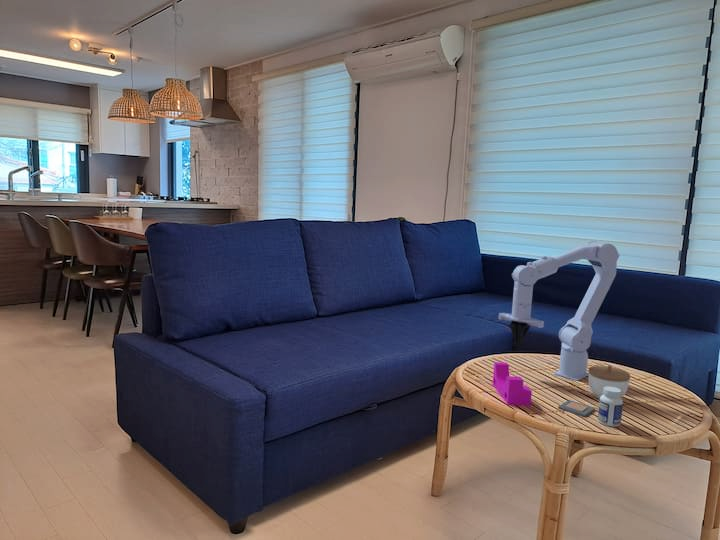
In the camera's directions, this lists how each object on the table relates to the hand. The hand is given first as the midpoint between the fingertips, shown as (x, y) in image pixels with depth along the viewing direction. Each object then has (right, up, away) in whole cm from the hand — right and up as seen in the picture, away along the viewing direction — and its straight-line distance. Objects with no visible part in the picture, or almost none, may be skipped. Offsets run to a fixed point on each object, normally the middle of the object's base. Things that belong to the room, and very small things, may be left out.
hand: (518, 345), depth 162 cm
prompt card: (+7, -13, -26) cm, 30 cm away
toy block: (-8, -12, -18) cm, 23 cm away
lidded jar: (+20, -13, -16) cm, 29 cm away
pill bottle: (+12, -15, -34) cm, 39 cm away
